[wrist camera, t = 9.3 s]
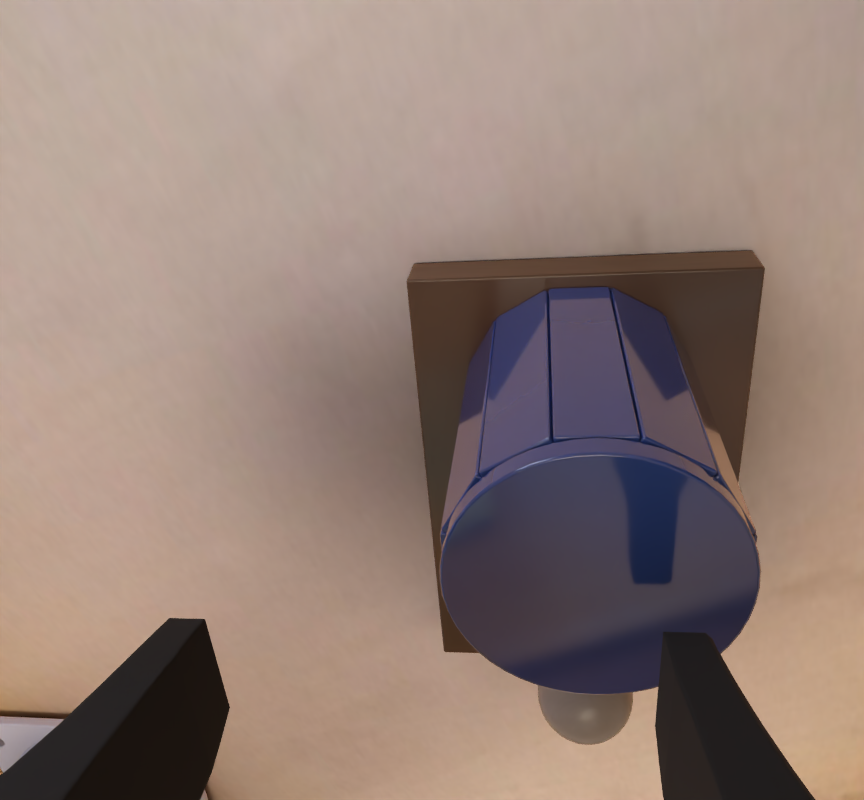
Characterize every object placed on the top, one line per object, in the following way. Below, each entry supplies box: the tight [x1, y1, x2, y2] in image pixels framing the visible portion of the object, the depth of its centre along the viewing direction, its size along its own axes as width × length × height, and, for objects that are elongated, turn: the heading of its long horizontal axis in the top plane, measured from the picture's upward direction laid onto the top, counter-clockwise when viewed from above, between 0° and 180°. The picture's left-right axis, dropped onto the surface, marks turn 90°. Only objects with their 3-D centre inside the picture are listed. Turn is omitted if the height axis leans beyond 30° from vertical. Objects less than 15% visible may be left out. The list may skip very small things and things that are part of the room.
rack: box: [407, 251, 765, 745], centre depth 19 cm, size 12×8×6 cm, turn 4°
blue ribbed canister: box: [440, 287, 761, 695], centre depth 16 cm, size 5×5×7 cm
